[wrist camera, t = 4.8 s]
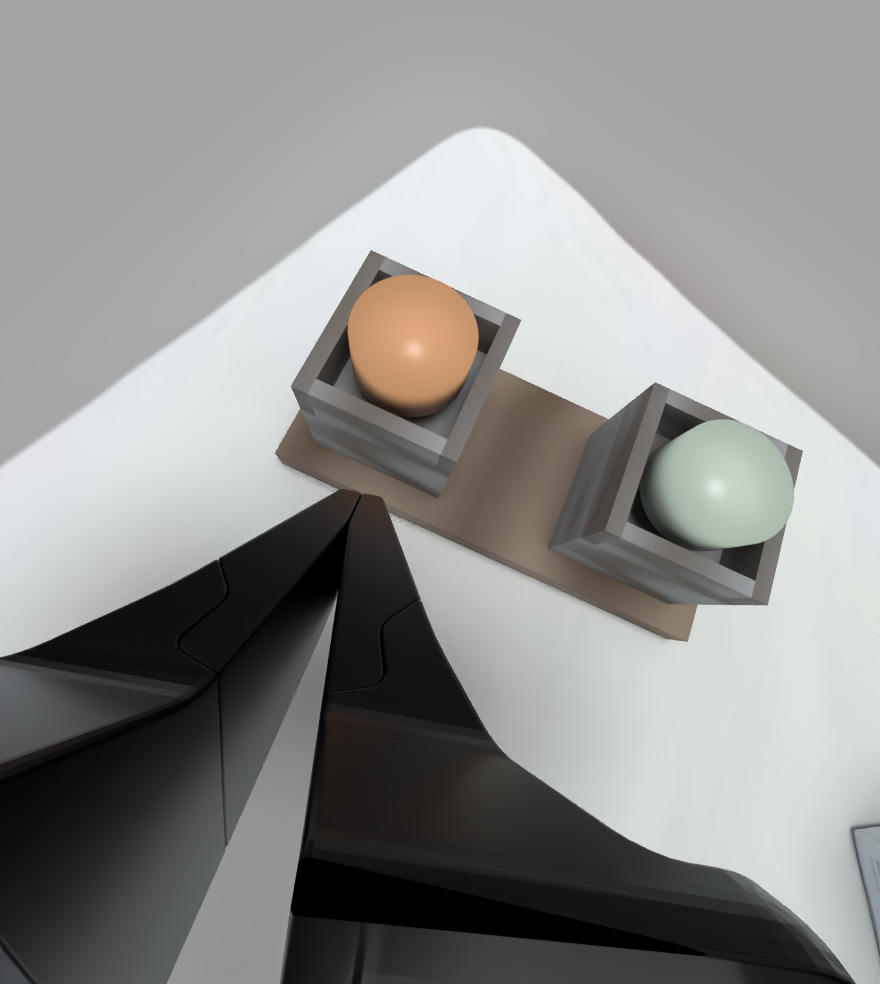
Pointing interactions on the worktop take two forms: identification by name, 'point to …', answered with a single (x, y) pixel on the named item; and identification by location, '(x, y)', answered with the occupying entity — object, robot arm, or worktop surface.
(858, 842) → the tea box
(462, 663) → the worktop surface
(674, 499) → the sage button
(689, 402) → the button board
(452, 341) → the terracotta button
